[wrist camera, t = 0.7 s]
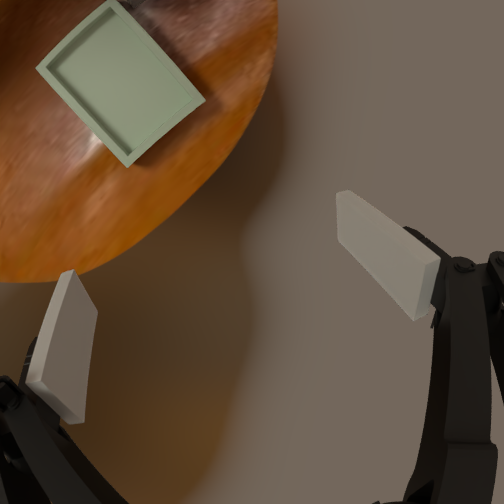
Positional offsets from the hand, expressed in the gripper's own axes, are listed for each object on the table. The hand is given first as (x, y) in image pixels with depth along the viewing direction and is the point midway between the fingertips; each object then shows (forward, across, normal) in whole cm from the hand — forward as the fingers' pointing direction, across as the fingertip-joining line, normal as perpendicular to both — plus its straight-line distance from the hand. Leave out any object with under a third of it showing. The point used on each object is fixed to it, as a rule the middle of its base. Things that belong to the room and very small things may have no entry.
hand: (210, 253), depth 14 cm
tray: (+27, -5, +10) cm, 30 cm away
